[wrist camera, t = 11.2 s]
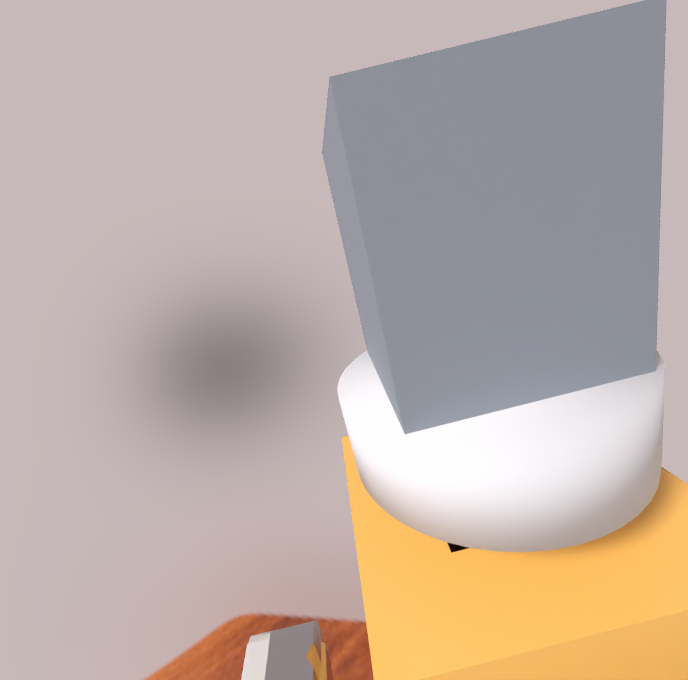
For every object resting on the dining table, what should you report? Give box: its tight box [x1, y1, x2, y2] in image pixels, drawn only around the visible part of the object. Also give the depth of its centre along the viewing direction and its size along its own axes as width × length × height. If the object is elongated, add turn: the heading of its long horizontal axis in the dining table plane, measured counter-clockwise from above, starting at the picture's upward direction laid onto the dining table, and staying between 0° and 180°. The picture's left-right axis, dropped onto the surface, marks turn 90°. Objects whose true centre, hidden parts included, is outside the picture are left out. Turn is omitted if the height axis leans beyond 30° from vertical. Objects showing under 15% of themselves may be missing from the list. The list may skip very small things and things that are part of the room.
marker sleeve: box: [342, 436, 688, 680], centre depth 7 cm, size 5×5×8 cm
